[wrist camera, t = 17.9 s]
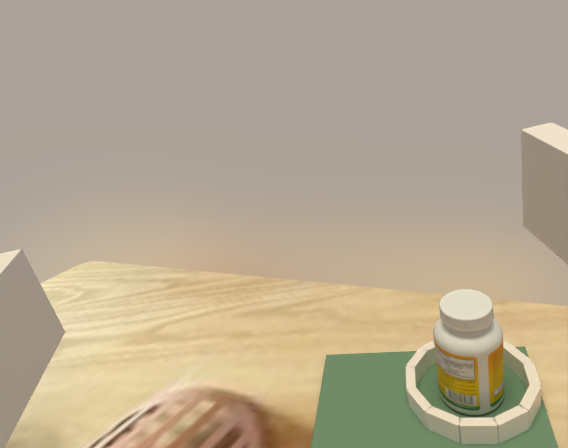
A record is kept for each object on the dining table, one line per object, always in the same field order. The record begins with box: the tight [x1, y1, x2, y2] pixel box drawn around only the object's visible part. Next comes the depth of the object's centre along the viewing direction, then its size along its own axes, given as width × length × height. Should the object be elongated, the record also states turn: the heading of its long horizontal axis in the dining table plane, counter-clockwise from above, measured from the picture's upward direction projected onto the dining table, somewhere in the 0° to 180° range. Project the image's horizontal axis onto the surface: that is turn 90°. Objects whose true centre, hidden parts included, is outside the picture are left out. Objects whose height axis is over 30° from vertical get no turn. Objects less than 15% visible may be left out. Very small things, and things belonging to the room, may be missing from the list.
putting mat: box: [311, 347, 558, 448], centre depth 44 cm, size 19×15×1 cm
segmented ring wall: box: [406, 341, 541, 444], centre depth 44 cm, size 11×11×2 cm
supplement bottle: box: [433, 289, 504, 415], centre depth 42 cm, size 5×5×10 cm
